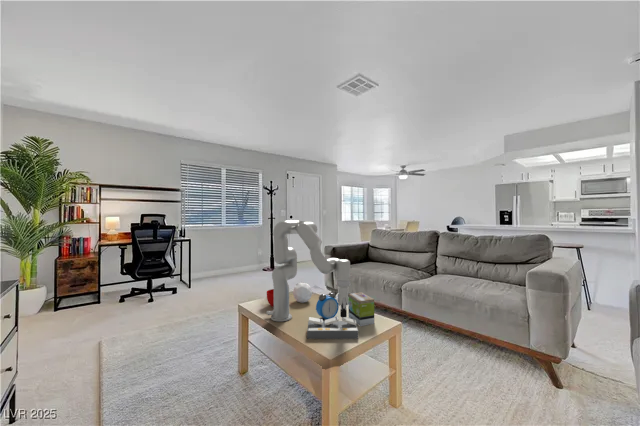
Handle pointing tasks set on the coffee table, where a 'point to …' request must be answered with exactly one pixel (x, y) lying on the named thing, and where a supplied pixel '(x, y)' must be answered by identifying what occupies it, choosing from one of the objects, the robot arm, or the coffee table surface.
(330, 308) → the alarm clock
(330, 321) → the plate
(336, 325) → the switch console
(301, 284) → the geodesic sphere
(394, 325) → the coffee table surface
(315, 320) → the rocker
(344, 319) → the rocker
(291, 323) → the coffee table surface
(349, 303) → the tea box
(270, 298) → the ceramic cup
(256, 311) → the coffee table surface
